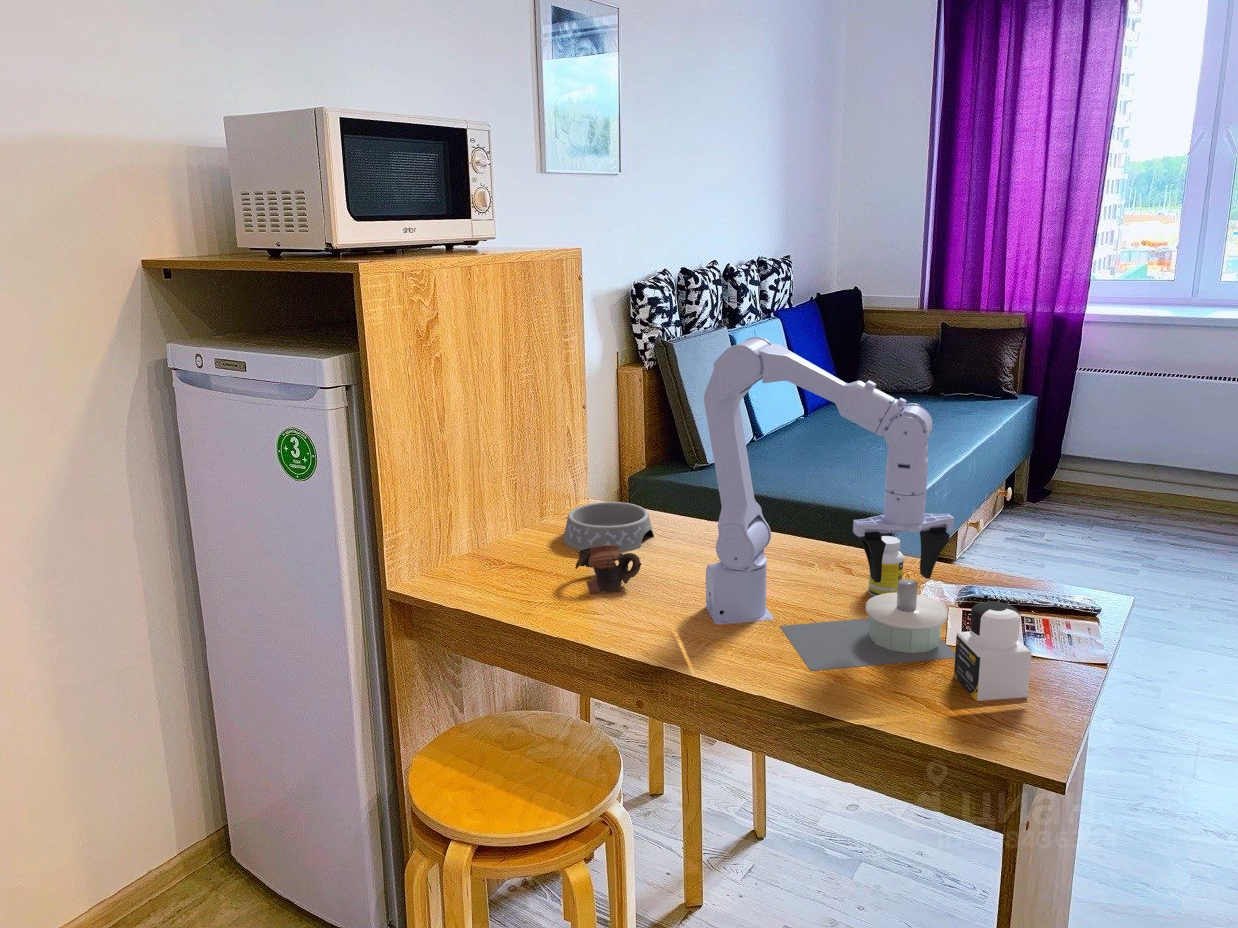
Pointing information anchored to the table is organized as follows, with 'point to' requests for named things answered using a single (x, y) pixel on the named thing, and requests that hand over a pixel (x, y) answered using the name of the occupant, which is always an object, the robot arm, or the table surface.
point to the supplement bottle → (888, 568)
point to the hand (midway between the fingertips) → (900, 577)
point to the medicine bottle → (993, 654)
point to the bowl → (904, 638)
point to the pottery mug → (608, 567)
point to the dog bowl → (607, 526)
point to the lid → (906, 608)
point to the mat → (849, 646)
